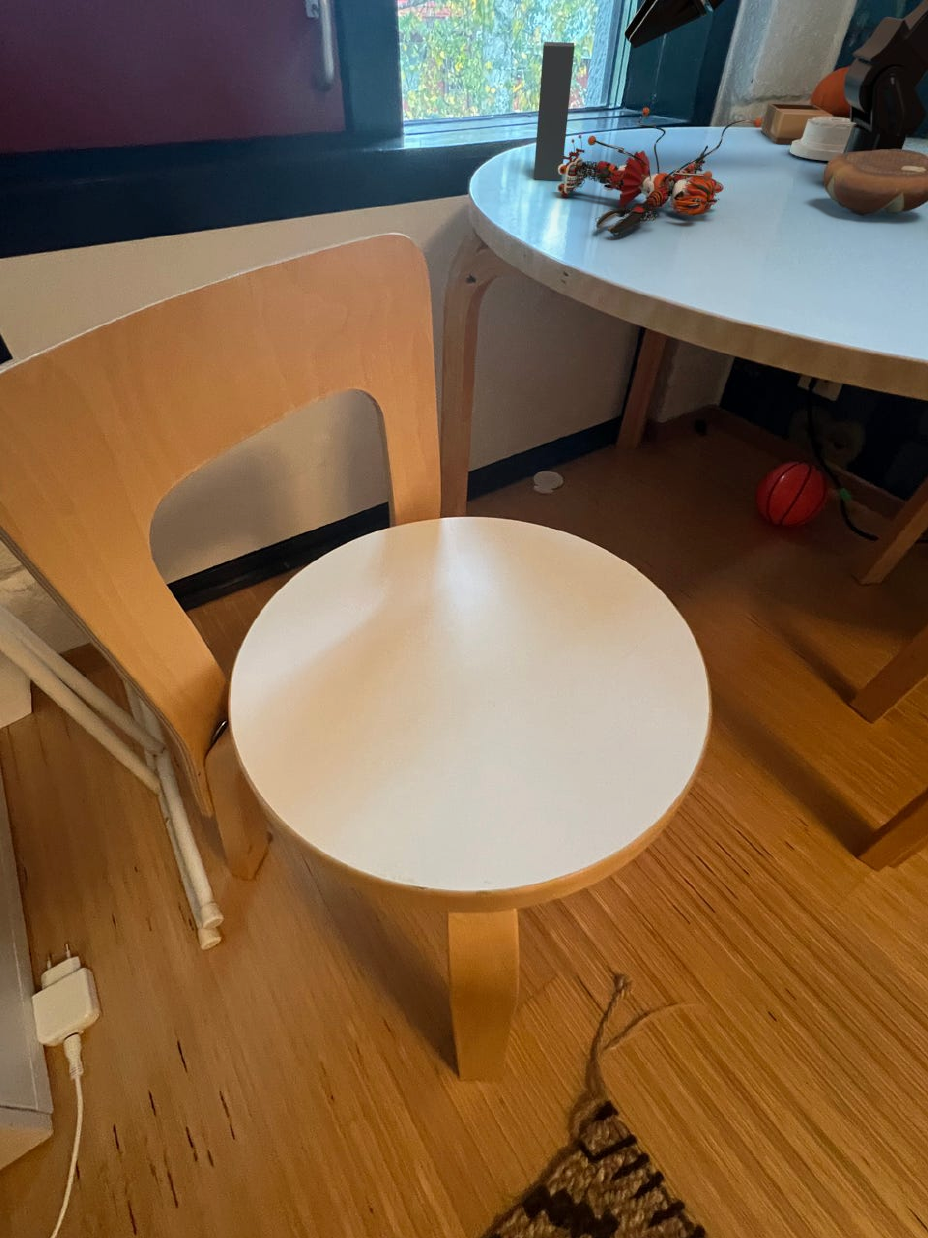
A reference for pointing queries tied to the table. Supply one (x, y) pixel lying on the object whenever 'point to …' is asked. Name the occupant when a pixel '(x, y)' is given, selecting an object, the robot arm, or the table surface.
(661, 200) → the striped bug figure
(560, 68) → the grey tall block
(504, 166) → the table surface
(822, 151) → the mechanical component
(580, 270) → the table surface
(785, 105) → the open wooden box
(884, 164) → the bread
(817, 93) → the fruit
